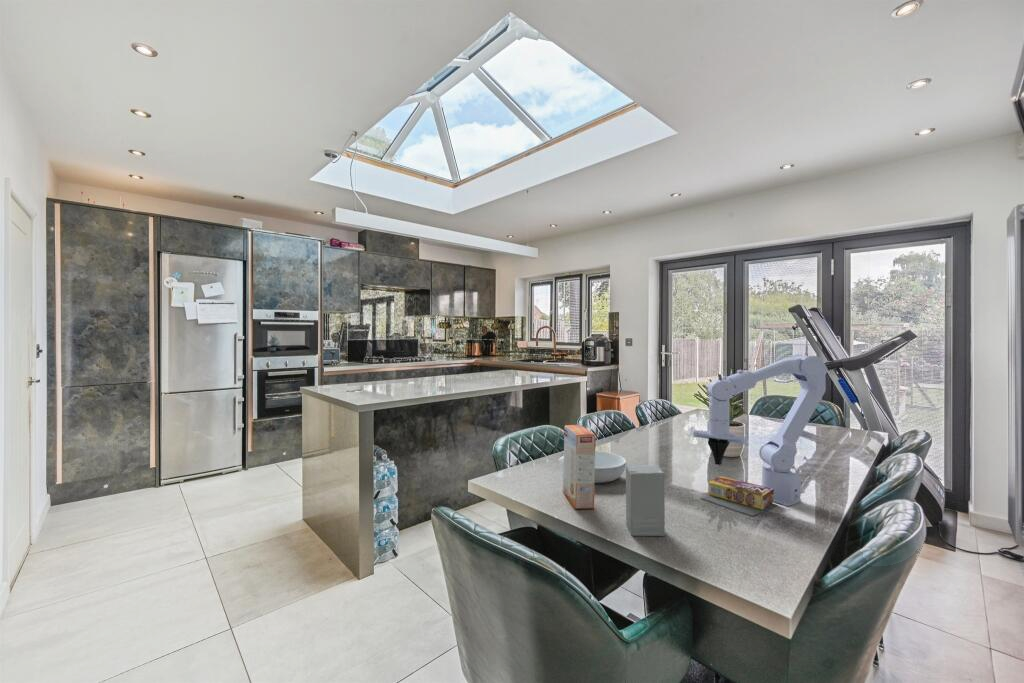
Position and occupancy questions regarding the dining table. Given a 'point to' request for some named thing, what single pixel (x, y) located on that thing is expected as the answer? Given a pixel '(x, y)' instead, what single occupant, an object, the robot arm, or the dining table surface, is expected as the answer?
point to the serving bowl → (608, 466)
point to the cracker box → (579, 466)
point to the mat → (737, 506)
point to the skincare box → (645, 500)
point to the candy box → (741, 492)
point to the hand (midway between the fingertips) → (718, 463)
